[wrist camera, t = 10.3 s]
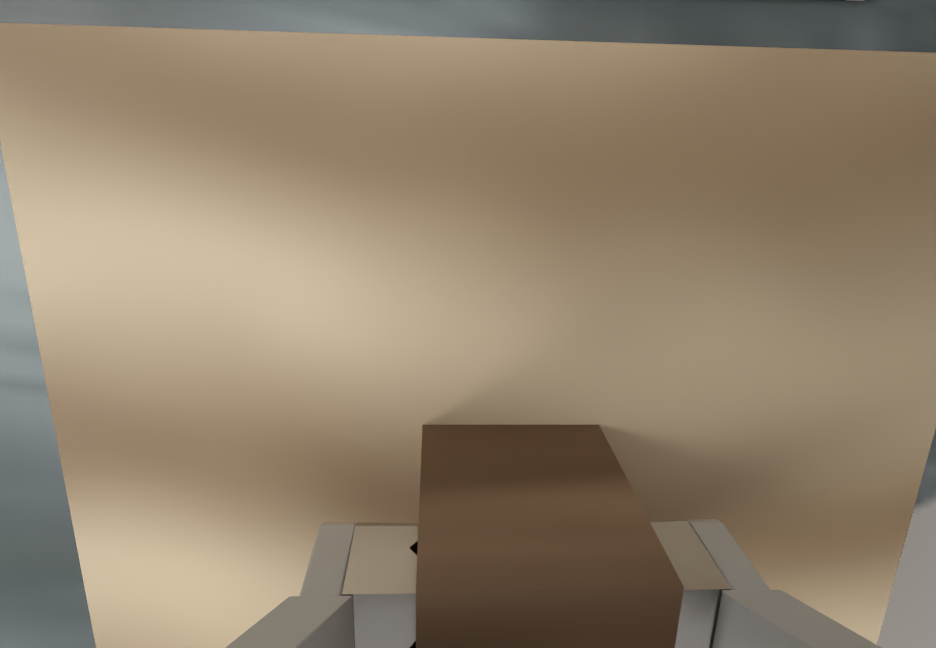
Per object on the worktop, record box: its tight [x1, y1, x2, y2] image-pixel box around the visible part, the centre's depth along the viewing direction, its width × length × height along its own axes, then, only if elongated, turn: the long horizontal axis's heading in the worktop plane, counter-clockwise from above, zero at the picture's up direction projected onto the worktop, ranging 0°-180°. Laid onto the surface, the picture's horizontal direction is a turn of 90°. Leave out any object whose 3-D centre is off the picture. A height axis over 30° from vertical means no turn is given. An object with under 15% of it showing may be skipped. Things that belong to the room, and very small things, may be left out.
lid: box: [0, 23, 936, 648], centre depth 10 cm, size 15×15×5 cm
